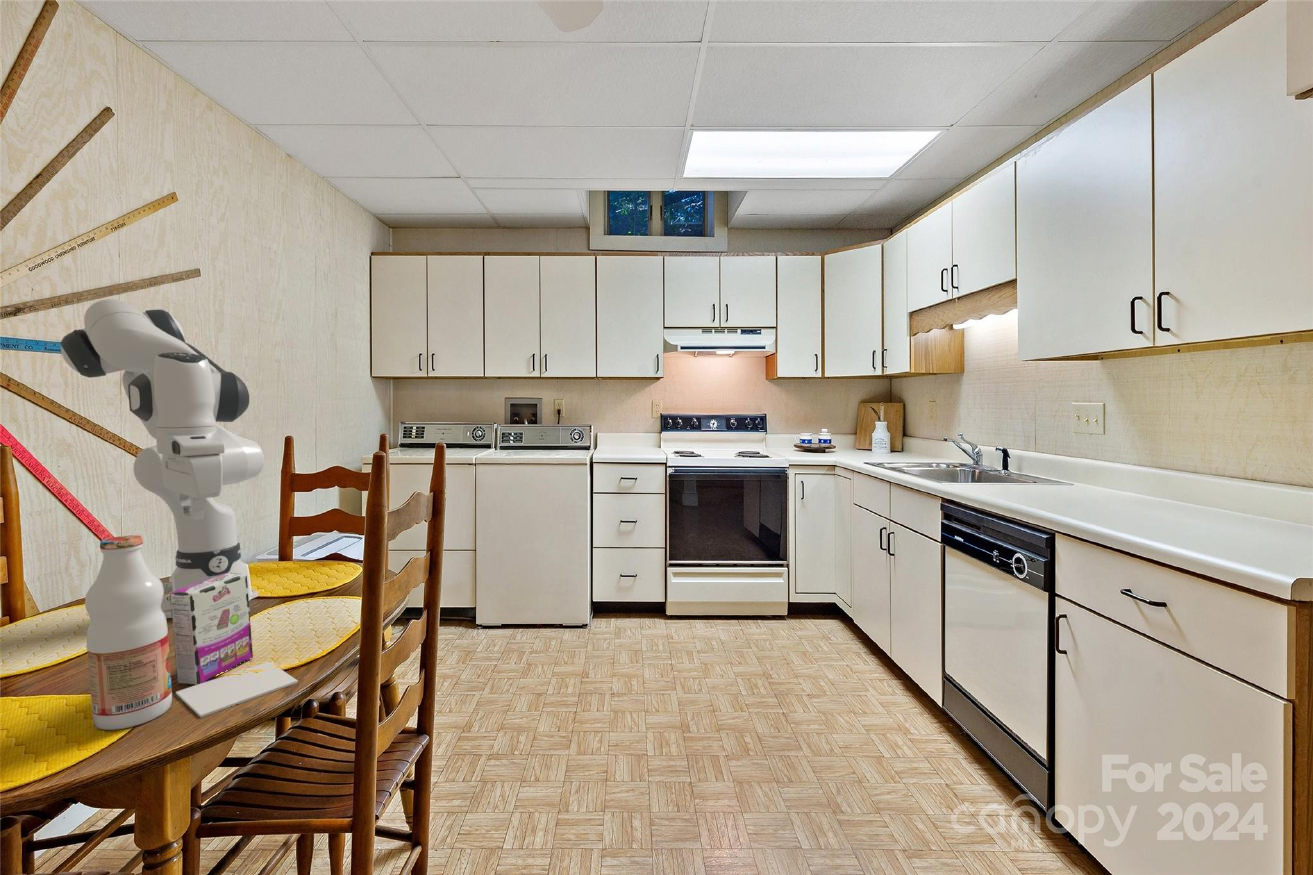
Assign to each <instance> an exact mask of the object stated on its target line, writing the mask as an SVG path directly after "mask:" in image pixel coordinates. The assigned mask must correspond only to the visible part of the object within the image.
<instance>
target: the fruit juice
mask: <svg viewBox="0 0 1313 875" xmlns="http://www.w3.org/2000/svg"><path fill="white" fill-rule="evenodd" d="M143 547H144V539H143V537H142V535H137V534H136V535H135V534H131V535H129V534H128V535H120V536H119V535H118V536H113V537H109V538H105V539H102V540H101V541H100V542H99V549H100V553H101V554H103V557H102V563H101V565H100V569H99V571H98V575H97V577H96V579H95V580H94V582H93V583H92V585H90V587H89V589H88V590H87V592H86V594H85V597H84V607H85V610H86V613H87V614H88V616H89V618H90V624H89V626H88V628H87V631H86V651H87V664H88V674H89V675H88V676H89V687H90V700H91V701H90V702H91V712H92V713H91V715H92V721H93V724H94V726H95V727H96V728H97V729H99V730H103V731H104V730H105V731H115V730H123V729H128V728H132V727H136V726H139V725H142V724H145V723H147V722H150V721H153V720H154V719H157V718H158V717H160V716H162V715H163V714H165V713H166V712H167V711H168V710H169V709H170V708H171V706H172V703H173V702H172V701H173V692H172V691H173V689H172V674H171V660H170V647H169V645H170V644H169V629H168V627H169V626H168V623H167V622H168V621H167V618H166V616H165V614H164V613H163V611H162V609H161V603H162V599H163V596H165V595H164V594H165V593H164V589H163V584H162V583H163V582H162V580H161V579H160V578H159V577H158V576H157V575H156V574H155V573H153V572H152V571H151V569H150V568H149V567H148V565H147V563H146V561H145V558H144V556H143V554H142V548H143Z"/></svg>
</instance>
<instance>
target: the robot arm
mask: <svg viewBox="0 0 1313 875" xmlns="http://www.w3.org/2000/svg"><path fill="white" fill-rule="evenodd" d="M83 320H84V321H83V322H84V323H83V324H84V328H82V329H74V330H72V331H71V332H69V333H68V334H66V335H64V336H63V338H62V339H61V341H60V351H61V355H62V357H63V360H64V361H65V363H66V364H67V365H68V366H69V368H71V369H73V370H74V371H75V372H77V373H79V375H81V376H84V377H87V378H100V377H105V376H107V375H108V374H111V373H113V374H114V373H116V372H117V373H118V372H121V371H124V372H123V373H122V377H121V380H122V381H121V382H122V385H123V389H124V392H125V394H126V398H127V399H128V403H129V411H130V412H131V413H132V414H134V415H135V416H136V417H137V418H138V419H139V420H140V421H141V423H142V425H143V426H144V427H145V429H146V430H147V432H148V434H149V435H150V436H151V437H152V438H153V439H154V440H156V445H153V446H148V447H146V448H145V447H144V448H143V449H142V450H141V451H139V453H138V454H137V456H136V457H135V459H134V463H133V474H134V475H133V476H134V478H135V480H136V481H137V482H138V484H139V485H140V486H141V487H143V489H145V490H147V491H149V492H150V493H153V494H154V495H156V496H157V497H159V498H160V499H162V500H163V502H164V503H165V504H166V505H167V507H168V508H169V509H170V511H171V513H172V515H173V518H174V523H175V527H176V528H175V529H176V536H177V546H178V549H177V550H176V552H175V553H176V554H175V566H176V567H175V569H174V570H173V572H172V574H171V575H170V576H169V579H168V582H162V584H163V589H164V594H166V595H163V599H162V603H161V609H162V611H163V613H164V614H165V616H166V619H172V612H171V601H170V593H171V592H174V591H177V590H179V589H182V588H185V587H188V586H191V585H194V584H197V583H199V582H202V581H205V580H208V579H211V578H214V577H217V576H220V575H223V574H225V573H232V574H233V573H237V574H247V584H248V597H249V602H250V601H251V600H253V599H255V598H258V596H259V591H257V590H253V589H252V584H251V576H250V570H249V565H248V563H245V562H244V561H242V559H241V557H242V554H241V552H242V548H241V543H240V542H239V541H238V528H237V526H238V525H237V514H236V511H234V509H232V508H231V507H230V506H229V505H227V504H225V503H223V502H219V501H216V500H215V499H214V498H217V497H219V496H220V495H221V493H222V490H223V486H225V485H232V484H239V483H240V482H244V481H247V480H250V479H253V478H255V477H257V476H259V475H260V473H261V472H262V470H263V468H264V467H265V466H264V464H265V455H264V454H265V453H264V452H263V449H262V448H261V447H260V445H259V444H258V443H257V442H256V441H254V440H253V439H250V438H245V437H243V436H240V435H238V434H236V433H233V432H231V431H230V430H229V429H226V428H225V427H223V426H222V425H220V424H218V423H232V422H234V421H235V420H238V419H239V417H241V416H242V415H243V414H244V413H245V412H247V410H248V408H249V405H250V393H249V389H248V386H247V385H246V383H245V382H244V381H243V380H242V379H241V378H240V377H239V376H238V375H237V374H235V373H233V371H226V370H224V369H223V368H222V367H221V366H219V365H218V364H217V363H215V362H214V361H213V360H211V358H209V357H208V356H206V354H204V353H203V352H201V351H200V349H198V348H196V347H195V346H194V345H191V343H190V344H189V343H188V342H186V339H185V331H184V328H183V326H182V324H180V322H179V321H178V320H177V319H176V317H174V316H173V315H171V314H170V313H169V312H168V311H166V310H164V309H150V310H149V309H148V310H145V312H142V311H140V310H139V309H138V308H137V307H135V306H134V305H131V304H130V303H128V302H125V301H123V300H119V299H114V298H113V299H112V298H110V299H107V298H106V299H102V300H98V301H96V302H94V303H92V304H91V305H90V306H89V307H88V308H87V309H86V310H85V313H84V318H83ZM167 593H168V594H167Z"/></svg>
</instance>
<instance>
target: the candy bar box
mask: <svg viewBox="0 0 1313 875" xmlns="http://www.w3.org/2000/svg"><path fill="white" fill-rule="evenodd" d="M169 594H170V601H171V612H172V618H171V620H172V621H171V622H172V632H173V646H174V647H173V648H174V654H175V657H174V658H175V667H176V668H175V669H176V679H177V684H180V685H186V686H187V685H188V686H195V685H198V684H201V683H204V682H208V681H211V680H214V679H215V678H214V677H215V676H216V675H217V674H220V673H221V672H225V671H226V670H229V669H231V668H233V667H235V666H236V665H239V664H240V663H243V662H244V661H246V662H248V661H250V660H251V659H250V658H252V659H253V658H254V654H253V653H254V651H253V643H252V642H253V640H252V638H253V637H252V628H251V616H250V601H249V597H248V584H247V574H237V573H233V574H232V573H225V574H223V575H220V576H217V577H214V578H211V579H208V580H205V581H202V582H199V583H197V584H194V585H191V586H188V587H185V588H182V589H179V590H177V591H174V592H171V593H170V592H169ZM249 659H250V660H249ZM247 660H248V661H247ZM244 663H245V662H244ZM244 663H243V664H244ZM239 666H240V665H239ZM235 668H236V667H235ZM233 669H234V668H233ZM231 670H232V669H231ZM229 671H230V670H229ZM225 673H226V672H225ZM213 678H214V679H213Z"/></svg>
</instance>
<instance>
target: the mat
mask: <svg viewBox="0 0 1313 875" xmlns="http://www.w3.org/2000/svg"><path fill="white" fill-rule="evenodd" d="M276 667H278V666H277V665H275V664H274V663H272V662H271V661H267V662H264V663H261V664H257V665H255V666H251V667H248V668H245V669H241V670H239V671H238V672H243V670H257V669H259V670H260V669H262V670H263V669H264V670H266V671H262V672H261V671H259V672H258V671H257V672H258V673H254V672H250V671H244V672H248V673H235V672H232V673H231V674H241V675H229V674H226V675H224V676H221V677H216V678H214V679H212V680H210V681H208V682H204V683H201V684H198V685H191V686H190V687H186V688H183V689H180V690H177V691H175V695H176V696H177V697H178V698H179V699H181V700H182V702H184V703H185V704H186V705H187V706H188V707H189V708H190V710H192V711H193V712H194V713H195V714H196V715H197V716H198V717H199V718H201V719H202V718H204V717H206V716H209V715H212V714H215V713H217V712H221V711H224V710H226V709H229V708H231V706H232V707H235V706H237V705H236V704H238V705H239V704H240V705H241V704H242V703H246V702H248V701H251V700H255V699H256V698H260V697H261V696H265V695H267V694H268V695H269V694H271V693H274V692H276V691H279V690H281V689H284V688H287V687H290V686H292V685H296V684H298V683H299V680H298V679H296V678H294V677H293V676H291V675H290V674H289V673H287V672H286V671H284V670H283V669H281V668H280V667H278V668H276ZM271 669H273V670H271ZM274 669H275V670H274ZM227 675H229V676H227Z"/></svg>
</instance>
